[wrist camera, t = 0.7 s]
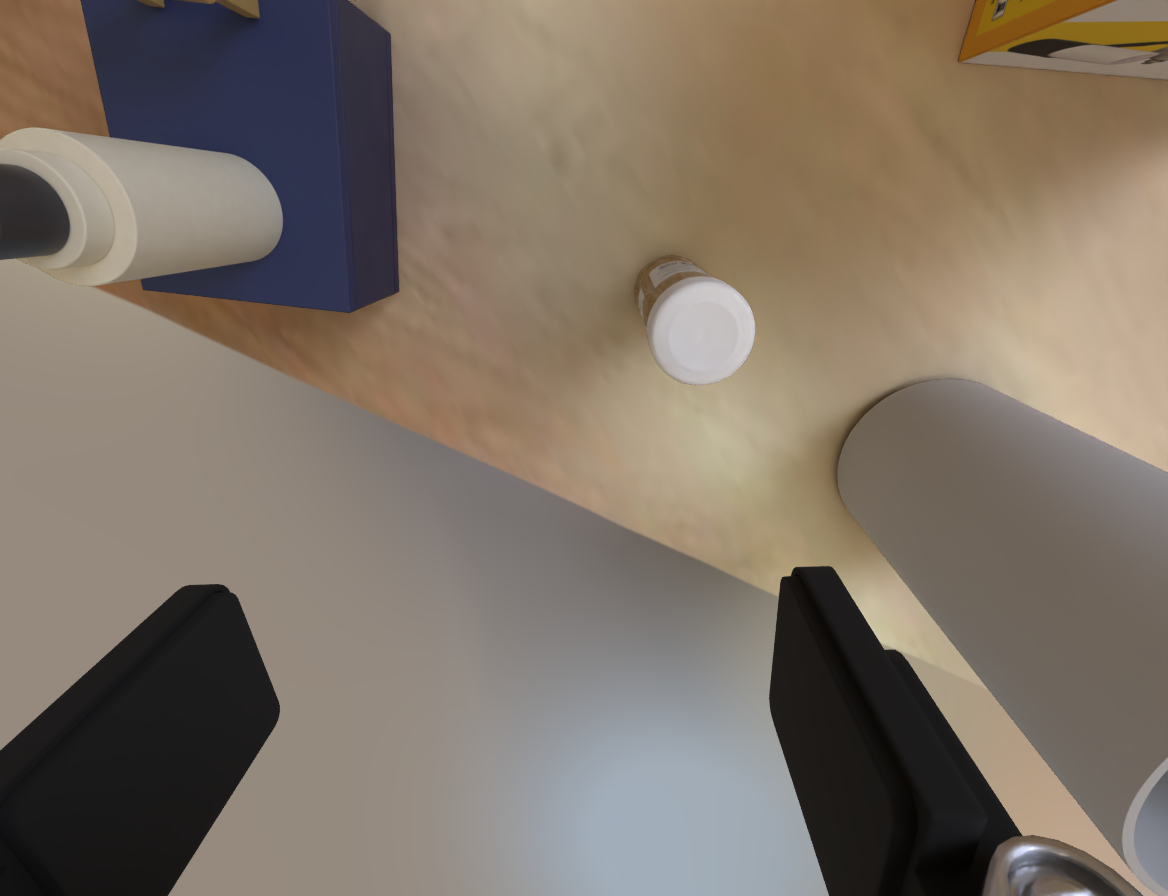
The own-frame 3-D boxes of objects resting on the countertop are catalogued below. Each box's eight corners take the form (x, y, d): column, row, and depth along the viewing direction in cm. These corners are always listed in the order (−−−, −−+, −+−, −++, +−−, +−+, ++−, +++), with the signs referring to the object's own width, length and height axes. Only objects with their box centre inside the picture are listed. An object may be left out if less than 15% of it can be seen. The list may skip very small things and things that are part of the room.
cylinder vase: (823, 402, 38) (1141, 694, 16) (1015, 353, 37) (1698, 602, 14) (842, 548, 43) (1108, 935, 20) (1014, 511, 41) (1519, 892, 18)
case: (191, 10, 31) (86, -39, 24) (391, 33, 31) (336, -10, 24) (231, 273, 36) (154, 288, 30) (399, 292, 36) (356, 310, 30)
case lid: (80, -62, 24) (-56, -132, 19) (334, -33, 24) (264, -94, 19) (153, 288, 30) (65, 304, 25) (356, 310, 30) (307, 331, 25)
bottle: (167, 157, 27) (-185, 118, 15) (266, 148, 26) (-13, 101, 15) (202, 265, 29) (-83, 307, 17) (295, 258, 28) (71, 296, 17)
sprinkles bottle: (624, 313, 36) (634, 369, 24) (649, 243, 35) (673, 266, 22) (689, 335, 37) (730, 401, 25) (717, 267, 35) (776, 302, 23)
